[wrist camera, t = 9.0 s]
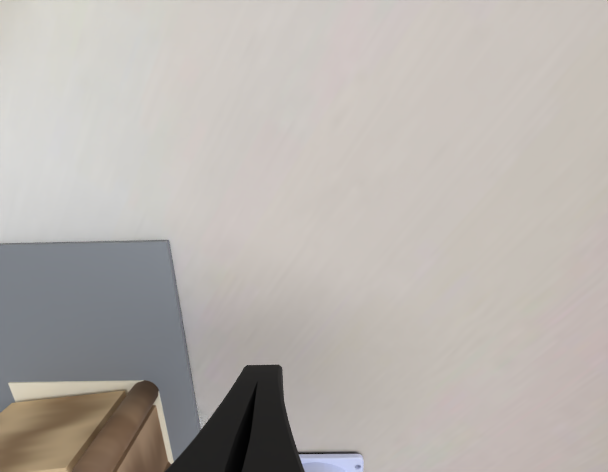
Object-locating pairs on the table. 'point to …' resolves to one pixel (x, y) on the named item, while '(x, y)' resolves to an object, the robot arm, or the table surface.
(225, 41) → the table surface
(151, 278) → the card
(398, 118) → the table surface
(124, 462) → the fence fixed section
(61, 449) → the fence panel
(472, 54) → the table surface
